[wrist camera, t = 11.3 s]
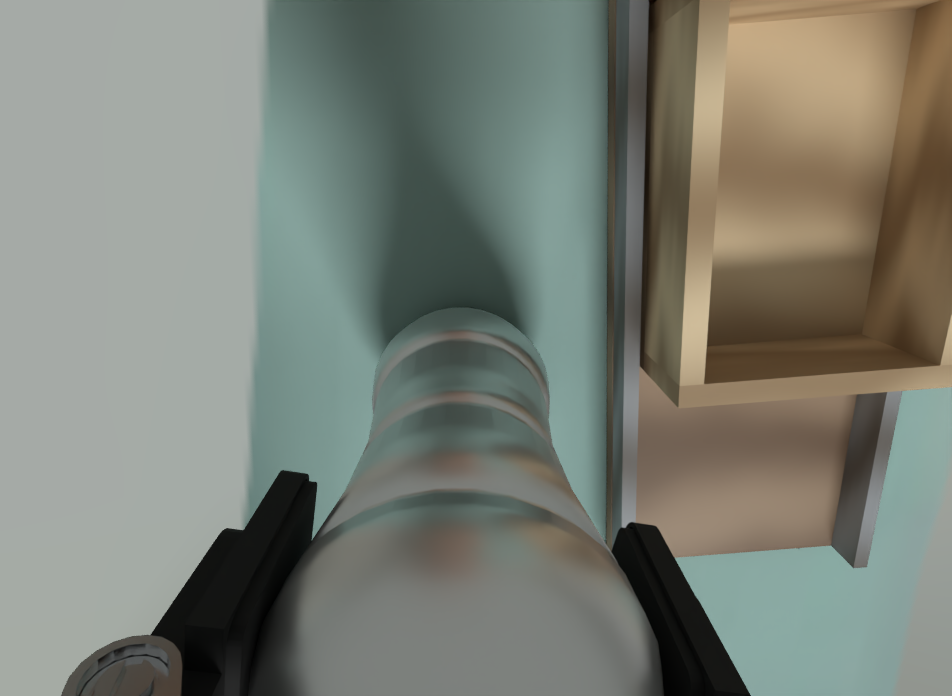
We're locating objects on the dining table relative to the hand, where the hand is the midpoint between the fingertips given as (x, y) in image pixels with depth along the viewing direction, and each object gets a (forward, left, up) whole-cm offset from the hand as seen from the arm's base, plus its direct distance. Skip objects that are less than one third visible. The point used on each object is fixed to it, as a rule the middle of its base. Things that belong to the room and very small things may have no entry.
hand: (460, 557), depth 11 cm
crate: (+9, -10, -11) cm, 17 cm away
